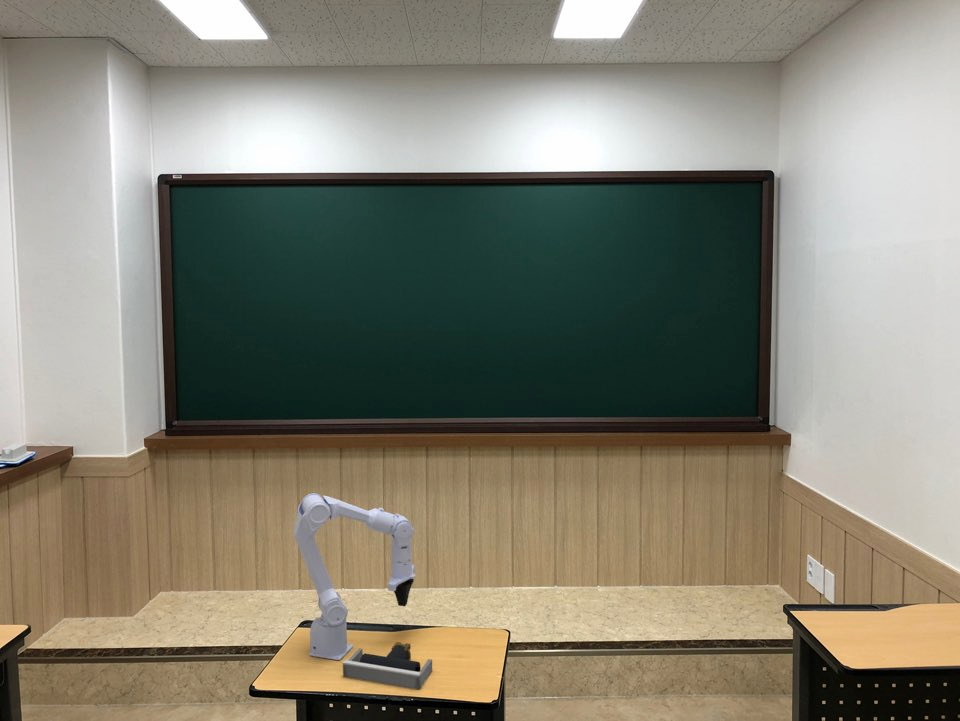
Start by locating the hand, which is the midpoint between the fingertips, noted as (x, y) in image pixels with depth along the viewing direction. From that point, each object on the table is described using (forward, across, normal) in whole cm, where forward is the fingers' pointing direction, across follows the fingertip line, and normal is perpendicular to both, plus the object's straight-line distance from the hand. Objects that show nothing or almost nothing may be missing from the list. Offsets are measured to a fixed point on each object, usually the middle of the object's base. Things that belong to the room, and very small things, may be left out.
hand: (402, 605), depth 191 cm
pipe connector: (+10, -17, -5) cm, 20 cm away
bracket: (+9, -19, -4) cm, 21 cm away
